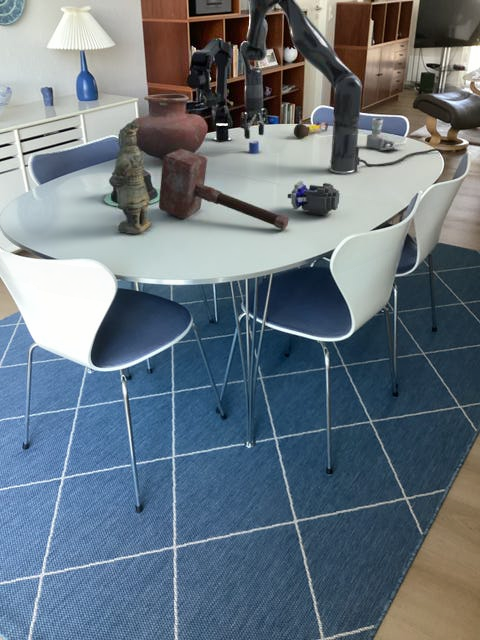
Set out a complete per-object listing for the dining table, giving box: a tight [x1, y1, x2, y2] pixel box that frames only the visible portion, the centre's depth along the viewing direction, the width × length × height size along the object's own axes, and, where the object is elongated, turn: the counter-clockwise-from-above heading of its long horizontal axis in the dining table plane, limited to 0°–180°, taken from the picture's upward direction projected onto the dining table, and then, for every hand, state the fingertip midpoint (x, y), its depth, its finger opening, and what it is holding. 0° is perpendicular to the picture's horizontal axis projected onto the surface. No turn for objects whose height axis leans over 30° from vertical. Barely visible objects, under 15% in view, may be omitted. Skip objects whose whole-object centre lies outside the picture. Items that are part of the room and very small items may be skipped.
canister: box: [248, 140, 260, 154], centre depth 236 cm, size 4×4×4 cm
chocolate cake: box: [103, 168, 160, 207], centre depth 186 cm, size 15×19×20 cm
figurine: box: [293, 119, 329, 139], centre depth 263 cm, size 13×8×25 cm
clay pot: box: [131, 93, 209, 161], centre depth 222 cm, size 30×30×25 cm
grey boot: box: [365, 117, 406, 152], centre depth 234 cm, size 9×12×15 cm
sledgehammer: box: [158, 149, 290, 231], centre depth 163 cm, size 17×10×40 cm
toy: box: [287, 180, 341, 216], centre depth 168 cm, size 9×9×15 cm
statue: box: [108, 120, 153, 235], centre depth 154 cm, size 11×9×30 cm
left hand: (205, 124), depth 237 cm, fingers open, 9 cm apart
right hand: (254, 136), depth 234 cm, fingers open, 8 cm apart
